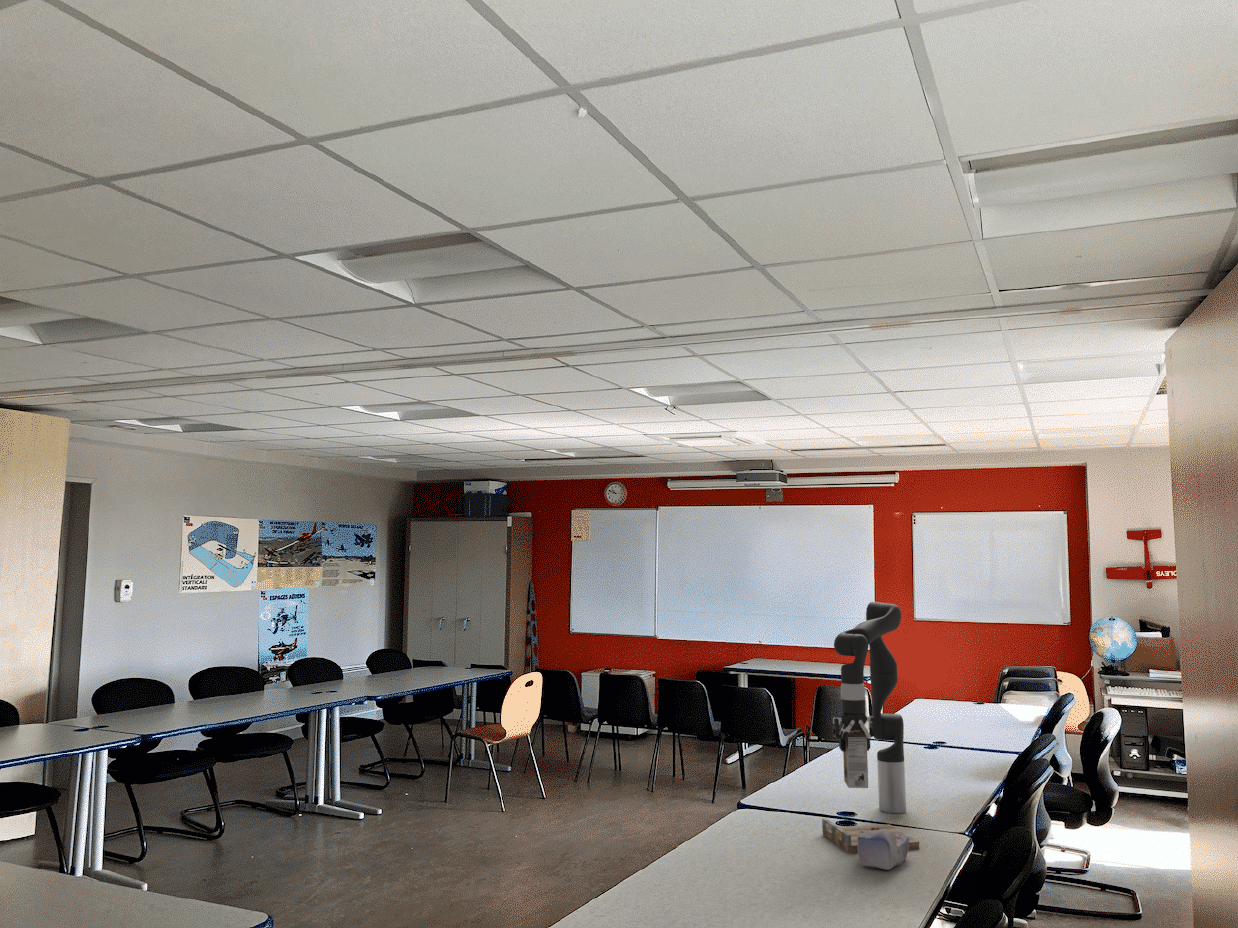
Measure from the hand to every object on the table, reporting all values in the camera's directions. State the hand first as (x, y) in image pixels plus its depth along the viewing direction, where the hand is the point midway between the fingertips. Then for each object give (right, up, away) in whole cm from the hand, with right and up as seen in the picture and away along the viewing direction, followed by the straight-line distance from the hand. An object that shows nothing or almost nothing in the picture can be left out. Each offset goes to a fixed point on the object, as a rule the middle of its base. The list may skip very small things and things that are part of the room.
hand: (855, 750), depth 293 cm
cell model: (+2, -25, -23) cm, 35 cm away
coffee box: (0, -11, -1) cm, 11 cm away
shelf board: (+4, -28, -3) cm, 28 cm away
